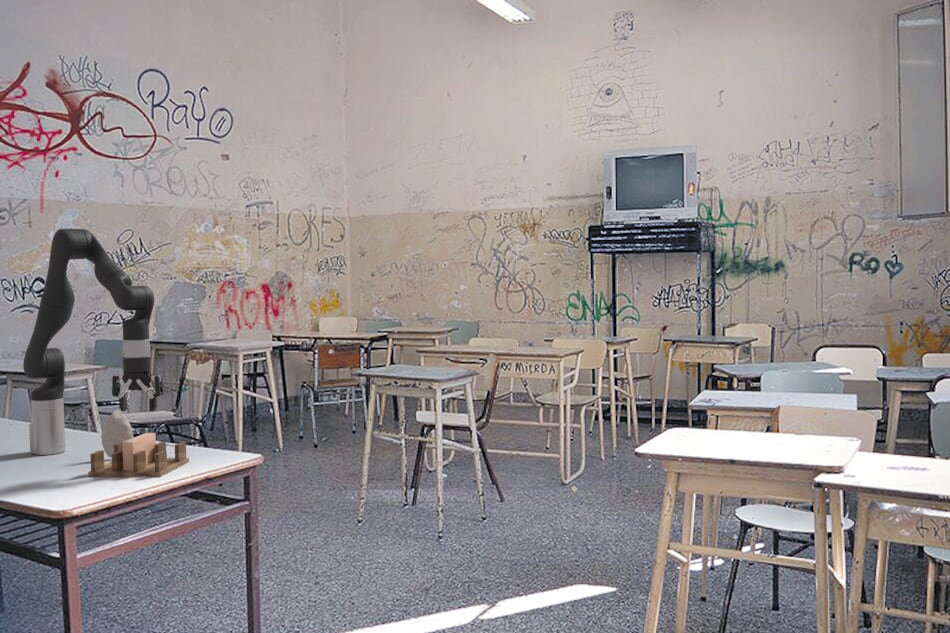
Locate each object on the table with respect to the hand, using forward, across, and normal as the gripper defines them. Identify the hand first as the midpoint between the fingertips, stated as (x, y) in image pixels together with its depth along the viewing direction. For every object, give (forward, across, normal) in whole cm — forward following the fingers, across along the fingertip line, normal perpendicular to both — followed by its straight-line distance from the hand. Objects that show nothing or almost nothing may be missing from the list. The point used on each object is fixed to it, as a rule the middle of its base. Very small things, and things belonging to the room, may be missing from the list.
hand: (138, 411), depth 249 cm
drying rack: (+17, 0, 0) cm, 17 cm away
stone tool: (+17, -14, +14) cm, 26 cm away
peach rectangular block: (+16, 0, 0) cm, 16 cm away
